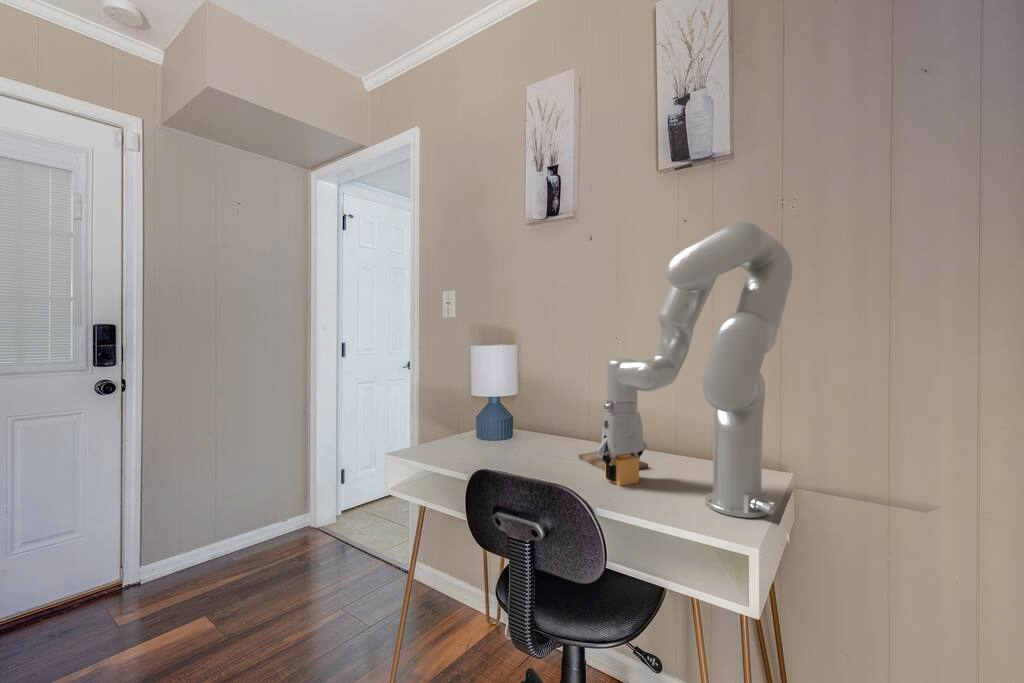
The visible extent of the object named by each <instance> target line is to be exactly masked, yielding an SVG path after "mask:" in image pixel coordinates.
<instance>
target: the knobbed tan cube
mask: <svg viewBox="0 0 1024 683" xmlns="http://www.w3.org/2000/svg"><path fill="white" fill-rule="evenodd" d="M610 458H611V455H610ZM614 465H615V466H616V480H615V481H614V482H613V481H611V480H608V479H607V478H606V463H605V470H604V480H607V481H608V482H611V483H613V484H614V485H617V486H618V487H622V486H626V485H633V484H638V483H639V482H640V470H639V458H638V457H635V456H633V455H631V454H624V455H617V456H616V459H615V462H614Z"/></svg>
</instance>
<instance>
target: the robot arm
mask: <svg viewBox="0 0 1024 683" xmlns="http://www.w3.org/2000/svg"><path fill="white" fill-rule="evenodd" d="M736 268H742V269H743V270H745V271H746V278H745V282H744V285H743V286H742V290H741V293H740V296H739V301H738V305H737V307H736V311H735V313H734V314H731V315H729V316H728V317H727V318H726V319H724V320H723V321H722V322H721V324H720V325H719V327H718V329H717V331H716V334H715V337H714V340H713V343H712V347H711V350H710V355H709V358H708V361H707V364H706V365H707V366H706V369H705V372H704V377H703V380H702V392H703V395H704V398H705V400H706V401H707V403H709V404H708V405H710V406H711V407H713V409H714V414H713V415H714V416H713V437H712V438H713V444H712V445H713V446H712V448H713V452H712V492H709V493H708V494H706V495H705V497H704V503H705V505H706V506H707V507H709V508H710V509H711V510H713V511H715V512H718V513H721V514H724V515H728V516H732V517H737V518H747V519H750V518H751V519H753V518H762V517H765V516H767V515H771V516H773V515H774V513H775V512H776V509H777V507H778V503H777V502H775V501H773V500H769V499H767V491H766V490H763V489H762V479H763V478H762V474H763V473H762V471H763V470H762V468H763V430H764V429H763V425H764V424H763V423H764V411H765V410H764V409H765V399H766V383H765V379H764V376H763V374H762V372H761V369H762V364H763V362H764V358H765V355H766V354H768V353H769V352H770V351H771V350H772V349H773V348H774V346H775V344H776V341H777V336H778V332H779V328H780V326H781V325H780V324H781V321H782V318H783V314H784V311H785V307H786V304H787V303H786V302H787V299H788V295H789V292H790V287H791V284H792V278H793V262H792V259H791V257H790V254H789V252H788V251H787V249H786V248H785V247H784V245H783V244H781V243H780V242H779V241H778V240H777V239H776V238H774V237H773V236H772V235H771V234H769V233H768V232H766V231H765V230H764V229H762V228H761V227H759V226H758V225H756V224H755V223H751V222H749V221H739V222H734V223H730V224H728V225H726V226H723V227H722V228H720V229H718V230H716V231H714V232H713V233H711V234H709V235H707V236H706V237H704V238H702V239H700V240H698V241H696V242H694V243H692V244H690V245H689V246H687V247H686V248H684V249H682V250H680V251H678V252H677V253H676V254H675V255H673V256H672V257H671V259H670V260H669V262H668V264H667V266H666V272H665V273H666V277H667V278H666V279H667V281H668V282H669V284H670V287H669V289H668V292H667V294H666V296H665V298H664V301H663V303H662V304H661V307H660V309H659V311H658V316H657V317H658V322H659V325H660V328H661V336H660V340H659V343H658V346H657V349H656V351H655V353H654V354H653V357H652V358H649V359H648V358H647V359H643V360H635V359H633V358H628V357H627V358H626V357H625V358H624V357H622V358H621V357H619V358H617V357H616V358H611V359H609V360H608V361H607V364H606V403H605V404H603V409H604V411H606V412H605V413H604V416H603V423H602V430H601V441H602V442H601V444H600V445H598V446H597V448H596V449H595V451H594V452H595V453H596V454H597V455H598V456H599V457H600V458H601V459H602V460H603V462H604V463H606V478H607V479H608V480H611V481H613V482H614V481H615V480H616V466H615V465H614V462H615V459H616V456H617V455H624V454H631V455H633V456H635V457H638V458H639V460H640V461H641V456H642V455H643V454H644V451H645V450H646V449H647V447H648V444H647V443H646V442H645V441H644V429H643V422H642V416H641V413H640V412H638V391H642V392H653V391H656V390H657V391H658V390H659V389H662V388H666V387H668V386H670V385H671V384H673V383H674V382H675V380H676V379H677V377H678V375H679V373H680V370H681V369H682V367H683V365H684V363H685V360H686V358H687V356H688V353H689V350H690V347H691V342H692V340H693V335H694V329H695V326H696V324H697V322H698V320H699V318H700V316H701V313H702V310H703V309H704V307H705V304H706V302H707V300H708V298H709V296H710V294H711V292H712V290H713V287H714V286H715V283H716V281H717V278H718V277H720V275H724V274H725V273H727V272H730V271H731V270H734V269H736ZM604 451H606V454H604ZM610 455H611V458H610ZM608 480H607V481H608Z"/></svg>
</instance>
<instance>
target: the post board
mask: <svg viewBox="0 0 1024 683" xmlns="http://www.w3.org/2000/svg"><path fill="white" fill-rule="evenodd" d="M598 442H599V443H598V444H599V445H600V444H601V442H602V440H600V441H598ZM599 445H598V446H599ZM604 454H606V451H604ZM578 458H579V460H581V461H584V462H585V463H588V464H590V465H592V466H594V467H596V468H599V469H601V470H603V471H605V463H604V462H603V460H602V459H601V458H600V457H599V456H598V455H597V454H596V453H595V451H594V452H587V453H580V454H578ZM644 469H649V463H647V462H645V461H642V460H641V459H640V460H639V471H640V470H644Z"/></svg>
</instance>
